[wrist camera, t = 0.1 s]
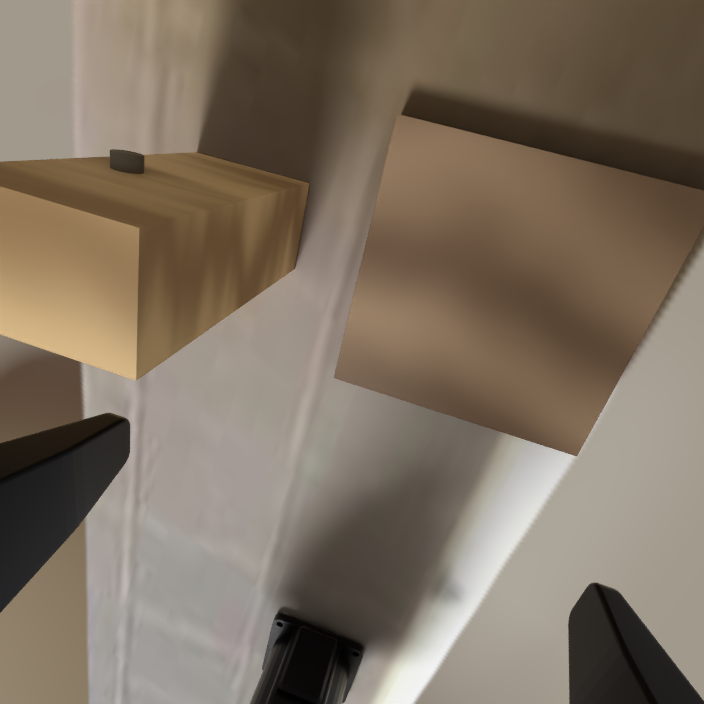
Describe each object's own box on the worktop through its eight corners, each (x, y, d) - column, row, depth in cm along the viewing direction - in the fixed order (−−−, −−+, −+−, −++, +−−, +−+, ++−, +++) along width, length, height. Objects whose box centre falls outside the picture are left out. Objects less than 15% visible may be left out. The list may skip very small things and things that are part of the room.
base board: (572, 444, 23) (576, 456, 22) (339, 369, 25) (334, 378, 24) (709, 192, 18) (721, 194, 17) (400, 114, 19) (396, 113, 18)
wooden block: (294, 268, 23) (135, 380, 12) (190, 237, 24) (-46, 318, 13) (311, 171, 21) (139, 205, 10) (197, 140, 22) (-75, 142, 11)
